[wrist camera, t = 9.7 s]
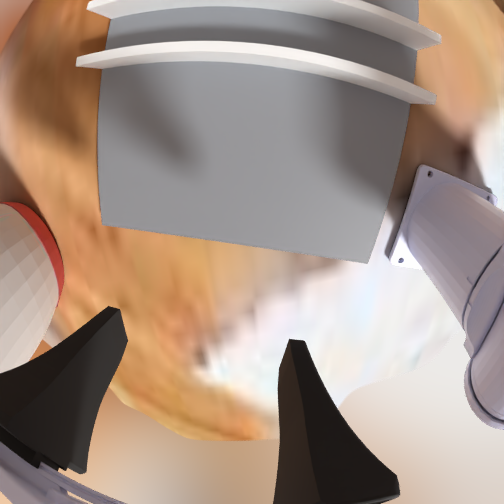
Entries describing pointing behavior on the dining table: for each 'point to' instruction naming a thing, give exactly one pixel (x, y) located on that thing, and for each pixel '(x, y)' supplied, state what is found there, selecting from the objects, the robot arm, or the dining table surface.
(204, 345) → the dining table surface
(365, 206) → the grey ridged board
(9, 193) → the dining table surface
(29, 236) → the citrus juicer
